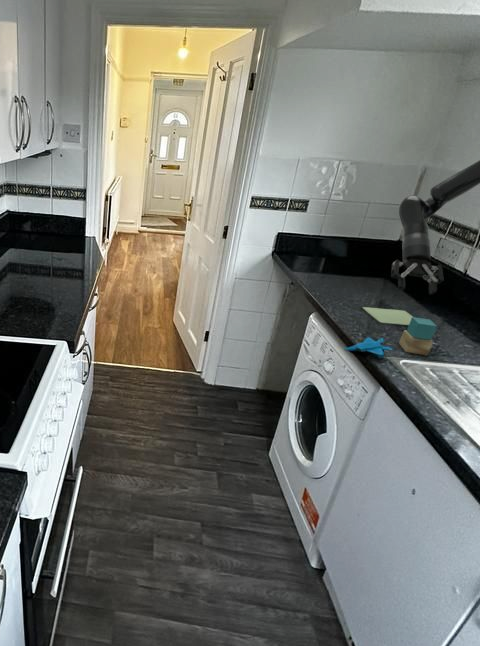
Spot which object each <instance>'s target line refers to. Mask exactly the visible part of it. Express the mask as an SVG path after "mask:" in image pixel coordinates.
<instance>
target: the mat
mask: <svg viewBox="0 0 480 646" xmlns="http://www.w3.org/2000/svg"><path fill="white" fill-rule="evenodd" d="M361 308H362V309H363V310H364V312H366V313H367V314H368V315H370V316H371V317H372V318H373V319H374V320H375V321H376V322H377V321H378V322H379V323H381V324H382V323H383V324H393V325H403V326H409V324H410V321H411V319H412V317H414V316H413V315H411V314H410V313H409V312H407V311H406V310H401V309H390V308H379V307H365V306H362V307H361Z"/></svg>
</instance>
